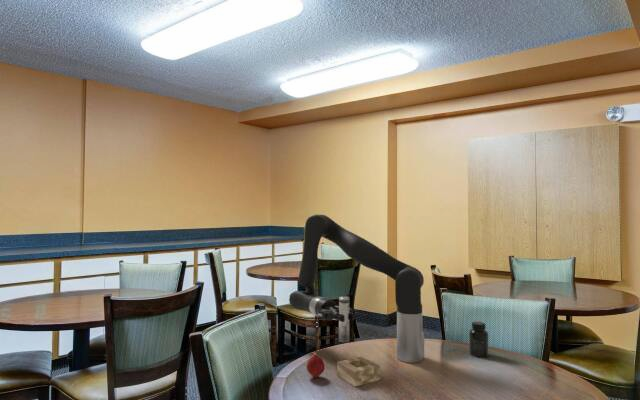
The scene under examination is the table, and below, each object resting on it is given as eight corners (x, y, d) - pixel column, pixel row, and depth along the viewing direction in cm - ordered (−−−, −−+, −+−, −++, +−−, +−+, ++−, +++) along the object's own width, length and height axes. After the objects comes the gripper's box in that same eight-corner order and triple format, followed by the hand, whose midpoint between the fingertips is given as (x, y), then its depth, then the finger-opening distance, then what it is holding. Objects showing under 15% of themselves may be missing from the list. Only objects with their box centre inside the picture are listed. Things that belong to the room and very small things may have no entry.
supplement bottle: (472, 350, 163) (472, 319, 163) (490, 354, 159) (490, 322, 159) (466, 355, 157) (466, 323, 158) (485, 359, 153) (485, 326, 154)
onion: (326, 375, 137) (326, 351, 137) (321, 382, 131) (321, 356, 132) (310, 373, 139) (310, 349, 139) (303, 379, 133) (304, 354, 134)
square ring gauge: (361, 369, 142) (361, 356, 142) (380, 379, 134) (380, 365, 134) (337, 375, 137) (337, 361, 137) (354, 386, 128) (354, 371, 129)
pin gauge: (345, 338, 147) (345, 296, 148) (351, 341, 144) (351, 297, 144) (336, 340, 145) (336, 297, 146) (342, 343, 142) (342, 299, 142)
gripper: (306, 299, 154) (331, 309, 139) (338, 296, 161) (365, 304, 146) (306, 320, 153) (331, 332, 139) (338, 315, 161) (365, 326, 146)
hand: (348, 318), depth 142 cm, fingers closed on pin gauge, 3 cm apart
